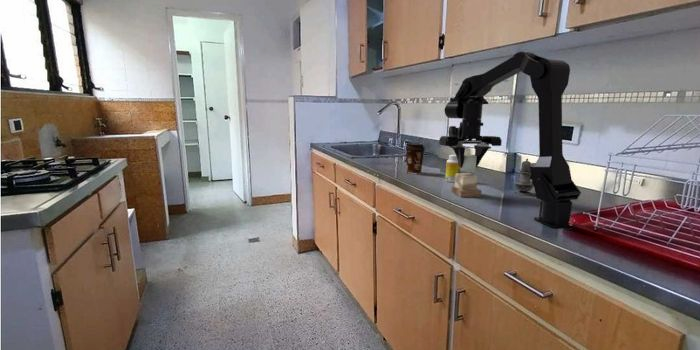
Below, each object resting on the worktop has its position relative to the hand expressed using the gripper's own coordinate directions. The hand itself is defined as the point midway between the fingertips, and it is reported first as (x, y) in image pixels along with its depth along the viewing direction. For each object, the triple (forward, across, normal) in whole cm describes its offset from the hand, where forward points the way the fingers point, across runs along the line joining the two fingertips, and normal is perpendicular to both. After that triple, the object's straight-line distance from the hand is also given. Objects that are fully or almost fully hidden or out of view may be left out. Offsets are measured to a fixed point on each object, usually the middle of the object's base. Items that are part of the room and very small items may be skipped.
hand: (468, 167), depth 110 cm
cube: (+7, 0, 0) cm, 7 cm away
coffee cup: (+9, +5, -39) cm, 40 cm away
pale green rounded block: (+1, 0, 0) cm, 1 cm away
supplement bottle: (+9, -5, -21) cm, 24 cm away
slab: (+10, 0, 0) cm, 10 cm away
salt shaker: (+9, -20, +1) cm, 22 cm away
